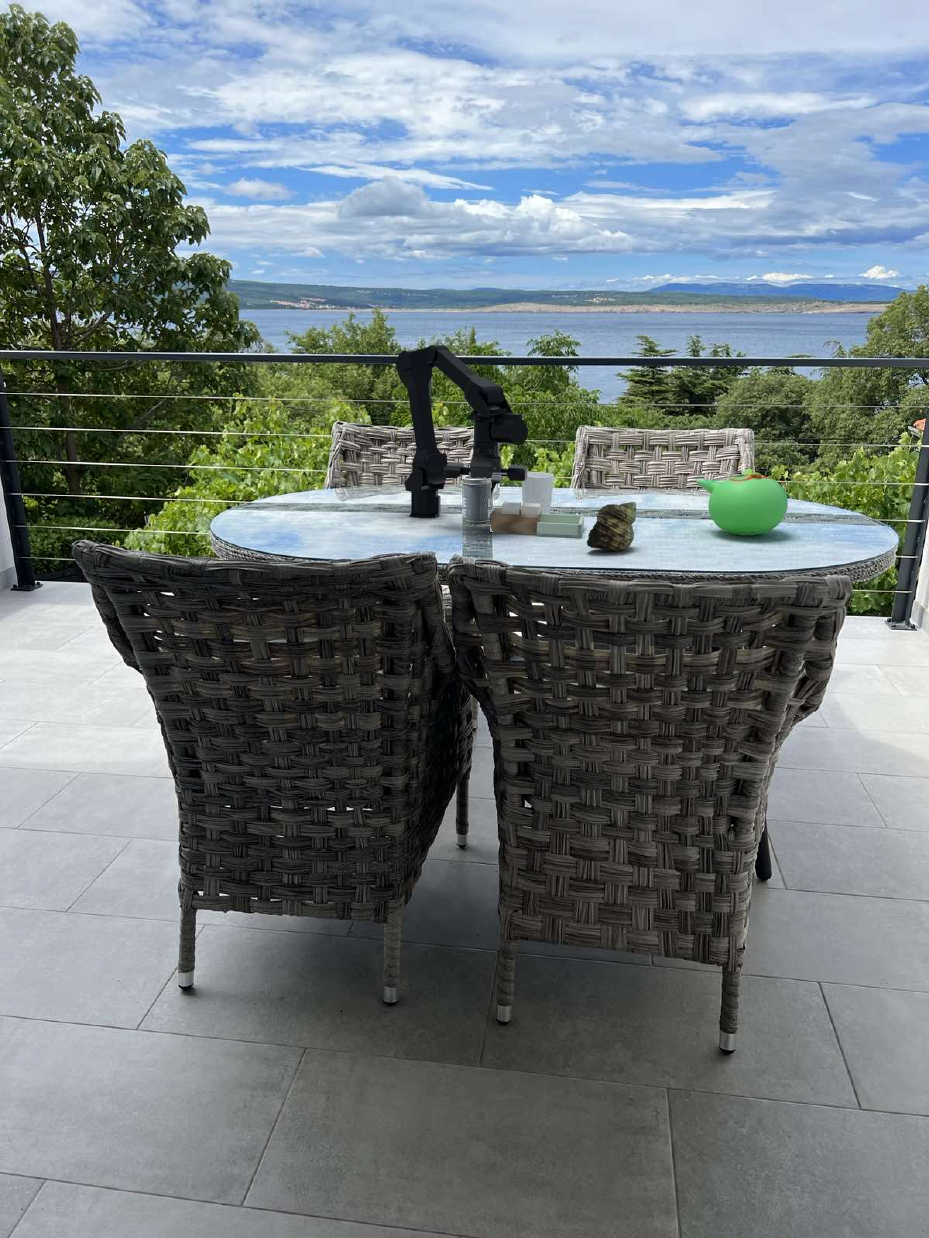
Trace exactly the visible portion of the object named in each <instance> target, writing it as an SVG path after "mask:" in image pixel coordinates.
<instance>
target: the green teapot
mask: <svg viewBox="0 0 929 1238" xmlns="http://www.w3.org/2000/svg"><path fill="white" fill-rule="evenodd" d="M695 483H696V484H697V485H698V486H699V487H701V488H702V489H704V490H706V491H707V492H708V493H709V494H710V495H709V499H708V504H707V505H708V513H709V516H710V518H711V519H712V522H713V523H714V524H715V525H716V526H717V527H718V528H720V529H721V530H723V531H724V532H726V533H729V534H733V535H736V534H737V536H743V535H750V536H757V534H758V535H762V534H765V533H767V532H770V531H771V530H774V529H775V528H777V526H779V525H780V524H781V523H782V522H783V520H784V519H785V517H786V515H787V512H788V507H789V505H788V504H789V503H788V496H787V493H786V491H785V490H784V488H783V487H782V485H781V484H780V483H778V482H777V481H776V480H774V479H772V478H770V477H767V476H765V475H762V474H761V473H760V472H753V469H752V468H747V469H745V470H744V471H743V472H742V473H741V474H736V475H733V476H731V477H728V478H726V479H724V480H722V481H718V480H717V481H716V480H712V479H706V478H699V479H696V480H695Z"/></svg>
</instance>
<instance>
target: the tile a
mask: <svg viewBox="0 0 929 1238" xmlns="http://www.w3.org/2000/svg"><path fill="white" fill-rule="evenodd" d="M501 508H502V514H516V515H519V514H520V512H521V509H522V502H514V501H513V502H512V501H504V502H503V503H502V504H501Z"/></svg>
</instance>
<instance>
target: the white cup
mask: <svg viewBox="0 0 929 1238" xmlns="http://www.w3.org/2000/svg"><path fill="white" fill-rule="evenodd" d="M554 476H555V475H554V474H553V473H549V472H543V471H531V472H530V471H527V478H526V480H525V481H521V497H522V500H521V503H522V504H523V503H538V504H541V514H542V513H543V514H551V509H552V508H551V505H552V501H553V500H552V499H553V490H554Z"/></svg>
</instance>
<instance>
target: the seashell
mask: <svg viewBox="0 0 929 1238" xmlns="http://www.w3.org/2000/svg"><path fill="white" fill-rule="evenodd" d="M636 512H637V503H636V502H635V501H631V502H624V503H620V504H614V503H612V504H611V503H610V504H606V505H604V506H602V507H601V508H600V509H599V510H598V512H597V515H596V522H595V523H594V525H593V526H592V528H591V529H590V530H589V533H588V534H587V536H588V539H587V541H586V545H587V546H588V547H589V548H590V549H597V550H598V549H599V550H605V551H622V550H626V549H627V548H629V546H631V545H632V544H633V541H634V540H635V531H634V528H633V524H634V523H635V522H636V520H637V519H636V518H637V516H636Z"/></svg>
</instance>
